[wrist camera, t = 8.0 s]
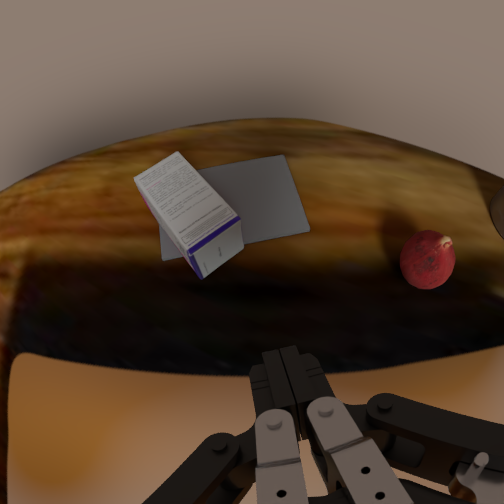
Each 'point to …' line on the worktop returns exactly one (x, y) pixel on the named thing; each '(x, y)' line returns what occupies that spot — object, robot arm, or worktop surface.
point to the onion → (427, 259)
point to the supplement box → (191, 213)
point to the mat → (254, 200)
